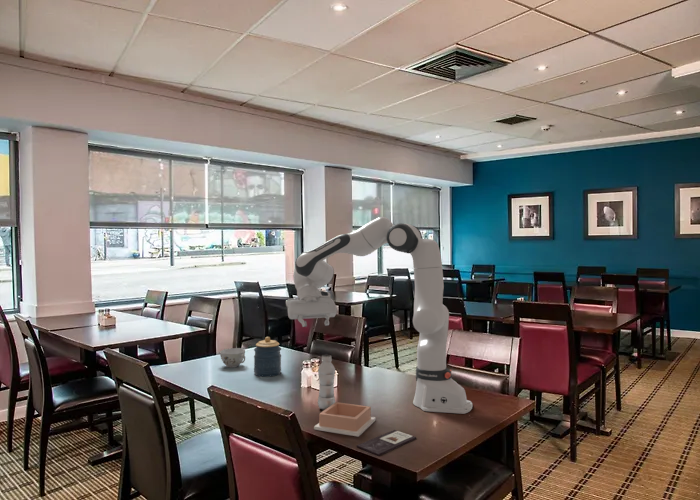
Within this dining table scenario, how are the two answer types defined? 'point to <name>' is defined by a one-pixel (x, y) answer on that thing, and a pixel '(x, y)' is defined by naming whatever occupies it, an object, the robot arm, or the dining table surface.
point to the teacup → (233, 356)
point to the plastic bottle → (326, 382)
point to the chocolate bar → (386, 442)
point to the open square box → (345, 419)
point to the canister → (267, 358)
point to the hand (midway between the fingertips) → (316, 325)
